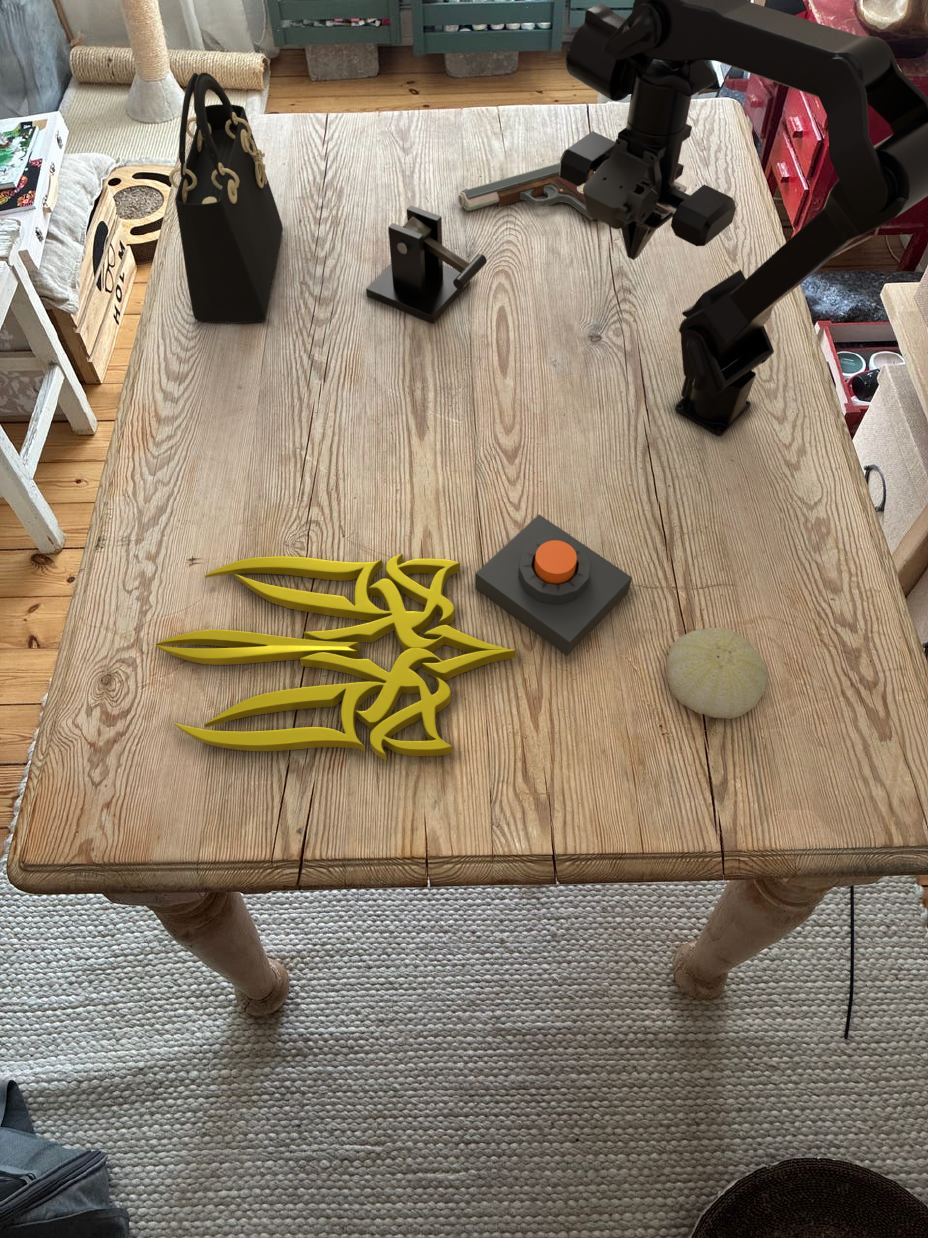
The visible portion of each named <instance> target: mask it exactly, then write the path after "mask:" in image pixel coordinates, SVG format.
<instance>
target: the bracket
mask: <svg viewBox="0 0 928 1238" xmlns="http://www.w3.org/2000/svg"><path fill="white" fill-rule="evenodd" d="M412 217H415V218H416V219H418V220H419V221H421V222H422V223H424V224H425V225H427V226H428V227H429V228H431V229H432V230H431V234H430V237H431V238H432V239H434V240H435V241H437V242H438V243H439V244H441V245H442V246H443V221H442V216H441V215H439V214H436V213H433V212H430V211H428V210H425V209H422V208H420V207H417V206H414V205H409V206H408V207H407V208H406V223H407V222H408V221H409V220H410V219H411V218H412ZM387 228H388V229H387V231H388V241H389V252H390V253H389V254H390V264H389V265H388V266H387V267H386V268H385V269H384V270H383V271H382V272H381V273H380V274H379V275H378V276H377V277H376V278H375V279H374V280H373V281H372V282H371V283H370V284H369V285H368V286H367V287H366V288H365V292H366V297H367V298H370V299H373V300H374V301H377V302H379V303H382V304H384V305H387V306H389V307H392V308H394V309H397V310H399V311H401V312H403V313H406V314H409V315H410V316H413V317H415V318H418V319H420V320H423V321H425V322H427V323H430V324H434V323H435V322H436V321H437V320H438V319H439V318H440V317H441V316H442V315H443V314H444V312H445V311H447V309H448V308H449V307H450V306H451V305H452V304H453V302H454V301H455V300H457V298H458V297H459V296H460V295H461V294H462V293H463V291H464V290H466V288H467V287H468V286H469V285H470V284H471V280H470V281H469V283H468V284H467V285H466V286H465V287H464V288H463V289H462V290H459V289H457V288H456V287H455V286H454V284H453V281H454V279H455V278H456V277H457V276H458V275H459V274H460V272H459V271H457V270H456V269H454V268H453V267H451V266H446V265H444V261H442V260H441V259H439V258H438V257H436V256H435V255H433V254H432V253H430V252H429V251H427V250H426V249H424V238H423V235H422V234H420V233H417V232H415V231H412V230H409V229H407V228H404V227H403V226H402V225H399V224H396V223H394V222H392V223H391V224H390V225H389V226H388V227H387Z"/></svg>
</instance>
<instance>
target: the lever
mask: <svg viewBox="0 0 928 1238" xmlns="http://www.w3.org/2000/svg"><path fill="white" fill-rule="evenodd" d="M402 227H404V228H407V229H409V230H412V231H415V232H417V233H420V234H422V235H423V238H424V249H426V250H427V251H429V252H430V253H432V254H433V255H435V256H436V257H438V258H439V259H441V260H442V261H443V263H445V264H446V265H448V266H449V267H450V268H452V269H455V270H457V271H459V272H460V274H459V275H458V276H457V277H456V278H455V279H454V281H453V284H454V286H455V287H456V288H457V289H459V290H462V289H463V288H464V287H465V286H466V285H467V284H468V283H469V281H470V282H471V280H472V279H473V278H475V276H477V274H478V273H479V272H480V271H481V270H482V269H483V267H485V265H486V264H487V260H488V259H487V257H486V256H485V255H484V254H483V253H478V254H476V255H475V257H474V258H473V259H472V260H470V262H468V261H467V260H464V259H463V258H462V257H460V256H459V255H458V254H456V253H455V252H453V251H451V250H450V249H449V248H447V247H445V246H444V245H443V244H442V245H441V244H439V243H438V242H437V241H435V240H434V239H432V238H431V237H430V234H431V230H432V229H431V228H429V227H428V226H427V225H425V224H424V223H422V222H421V221H419V220H418V219H416V218H415V217H412V218H411V219H410V220H409V221H408V222H407V221H406V222H405V223H404V224H403V226H402Z"/></svg>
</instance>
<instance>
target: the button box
mask: <svg viewBox="0 0 928 1238" xmlns="http://www.w3.org/2000/svg"><path fill="white" fill-rule="evenodd" d="M553 540H558V541H563V542H565V543H567V544H569V545H570V546H571V547H572V548H573V549H574V550H575V552H576V555H577V562H576V568H575V572H574V575H573V576H572V577H571V578H570V579H569V580H568V581H566V582H563V583H560V584H552V583H548V582H546V581H544V580H542V579H541V578H540V577H539V576H538V575H537V573H536V571H535V556H536V551H537V549H538V548H539V547H540V546H541V545H542V544H544V543H545V542H548V541H553ZM474 577H475V579H474V580H475V581H474V583H475V585H474V586H475V588H474V589H476V590H477V591H478V592H480V593H481V594H482V595H484V596H485V597H487V598H488V599H489V600H491V601H492V602H493V603H495V604H496V605H497V606H498V607H500V608H501V609H503V610H504V611H505V612H507V613H508V614H510V615H511V616H512V617H514V618H515V619H516V620H518V621H519V622H520V623H522V624H523V625H524V626H526V627H527V628H528V629H530V630H531V631H532V632H534V633H535V634H536V635H538V636H539V637H541V638H542V639H543V640H545V641H546V642H547V643H549V644H550V645H552V646H553V647H554V648H555V649H557V650H558V651H559V652H561V653H562V654H564V655H565V656H567V657H568V656H569V655H570V654H571V653H572V652H573V651H574V650H575V649H576V648H577V647H578V645H580V644H581V643H582V642H583V640H584V639H585V638H586V637H588V635H589V634H590V633H591V632H592V631H593V630H594V629H595V627H597V626H598V625H599V624H600V623H601V622H602V621H603V620H604V619H605V618H606V617H607V616H608V614H609V613H611V611H612V610H614V608H615V607H616V606H617V605H618V604H619V603H620V602H621V601H622V600H623V599H624V597H626V596H627V595H628V593H629V592H630V588H631V584H632V580H633V577H632V576H631V575H629V574H628V573H627V572H625V571H624V570H622V569H621V568H619V567H617V566H616V565H615V564H613V563H612V562H610V561H609V560H607V559H606V558H604V557H603V556H601V555H600V554H598V553H597V552H596V551H594V550H593V549H592V548H590V547H588V546H587V545H585V544H583V543H582V542H581V541H579V540H578V539H576V538H575V537H573V536H572V535H570V534H569V533H567V532H566V531H565V530H563V529H562V528H560V527H559V526H557V525H556V524H554V523H553V522H552V521H550V520H549V519H547V518H545V517H544V516H542V515H541V514H537V515H536V517H534V518H533V519H532V520H531V521H530V522H529V523H528V524H527V525H525V527H524V528H523V529H522V530H520V531H518V533H517V534H516V535H515V536H514V537H513V538H512V539H511V540H509V541H508V542H507V543H506V544H505V545H504V546H503V547H502V548H500V550H498V552H497V553H495V554H494V555H493V557H491V558H490V559H489V560H488V561H487V562H486V563H485V564H484V565H482V567H481V568H479V569H478V570H477V571H476V572H475V575H474Z"/></svg>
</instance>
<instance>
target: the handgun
mask: <svg viewBox="0 0 928 1238" xmlns="http://www.w3.org/2000/svg"><path fill="white" fill-rule="evenodd" d="M559 167H560V162H558V163H555V164H551V165H548V166H544V167H541V168H537V169H534V170H533V169H532V170H530V171H527V172H523V173H519V174H516V175H513V176H509V177H505V178H502V179H499V180H495V181H492V182H488V183H485V184H481V185H477V186H474V187H471V188H465V189H463V190H462V191H460V193H459V194H458V204H459V205H460V207H461V208H463V209H465V210H466V211H467V212H469V213H470V212H472V211H476V210H479V209H483V208H486V207H489V206H493V205H496V204H497V205H498V206H499V207H502V206H507V205H509V204H513V203H517V202H521V201H526V202H527V203H529V205H531V206H534V207H536V208H542V207H547V206H550V205H554V204H557V203H567V204H569V205H570V206H571V207H573V208H574V209H575V210H577V211H579V213H581V214H583V215H584V216H585V217H586V218H588V220H592V221H596V220H597V219H596V218H592V217H590V216H589V215H588V214H587V212H586V206H585V200H584V194H583V187H584V185H585V184H586V183H584V184H582V185H581V186H579V187H578V186H576V185H574V184H572V183H570V182H568V181H567V180H565V179H563V178H561V177H560V175H559ZM594 173H595V172H594V171H590V172H589V179H590V178H591V176H592V175H593V174H594ZM544 194H545V195H547V197H546V198H545V197H544V198H535V197H537V196H541V195H544Z"/></svg>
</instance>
